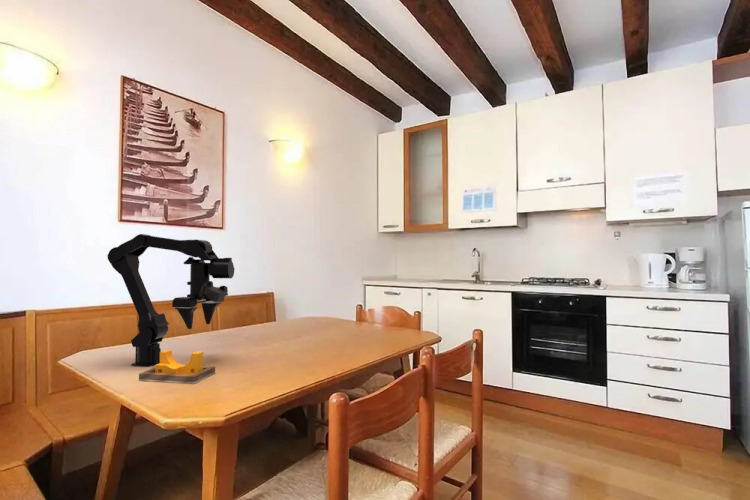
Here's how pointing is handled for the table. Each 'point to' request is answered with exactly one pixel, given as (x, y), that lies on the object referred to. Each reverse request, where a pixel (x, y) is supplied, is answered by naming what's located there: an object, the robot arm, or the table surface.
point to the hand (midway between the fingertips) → (199, 326)
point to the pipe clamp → (174, 367)
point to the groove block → (176, 376)
